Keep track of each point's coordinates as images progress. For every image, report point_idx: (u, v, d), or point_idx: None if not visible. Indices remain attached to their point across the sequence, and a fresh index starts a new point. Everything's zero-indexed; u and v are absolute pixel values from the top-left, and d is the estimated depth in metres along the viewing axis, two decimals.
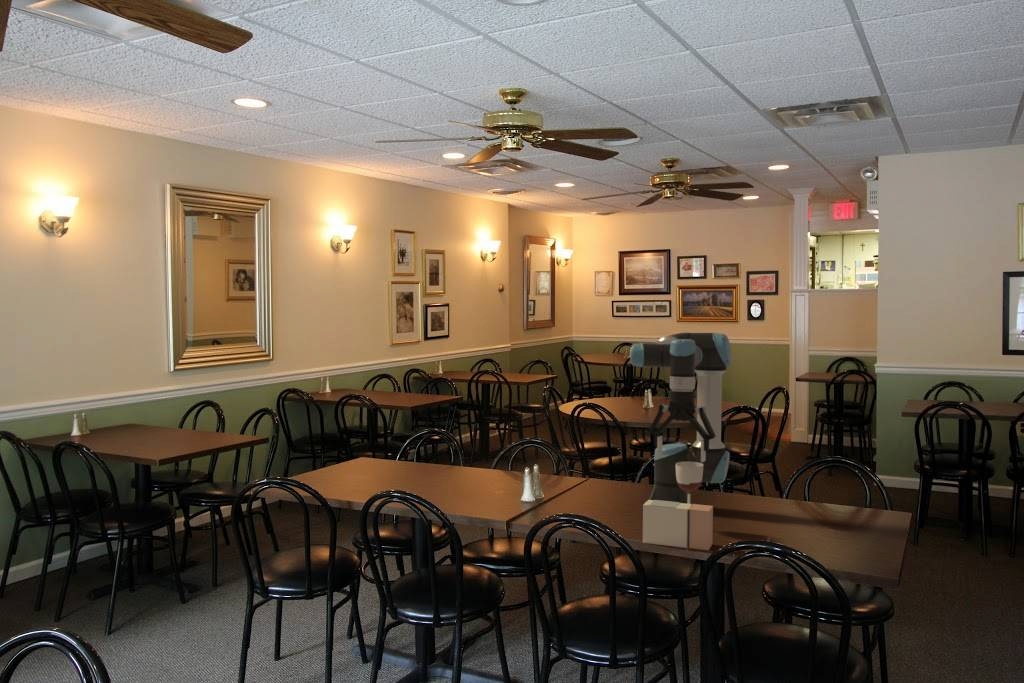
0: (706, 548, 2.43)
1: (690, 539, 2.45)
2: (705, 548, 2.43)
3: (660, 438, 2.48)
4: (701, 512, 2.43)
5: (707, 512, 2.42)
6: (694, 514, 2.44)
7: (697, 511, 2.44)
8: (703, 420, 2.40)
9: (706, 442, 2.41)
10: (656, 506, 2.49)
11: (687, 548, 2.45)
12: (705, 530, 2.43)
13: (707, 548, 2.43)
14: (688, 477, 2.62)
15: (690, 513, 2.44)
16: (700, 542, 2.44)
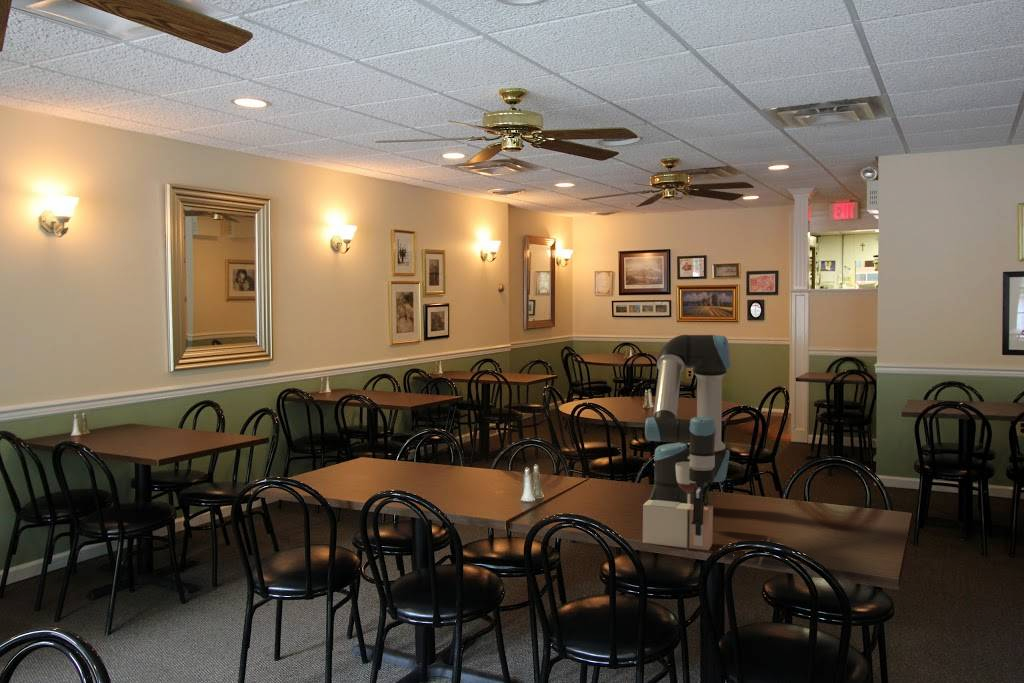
0: (706, 548, 2.43)
1: (690, 539, 2.45)
2: (705, 548, 2.43)
3: None
4: None
5: (707, 512, 2.42)
6: None
7: None
8: None
9: None
10: (656, 506, 2.49)
11: (687, 548, 2.45)
12: (705, 530, 2.43)
13: (707, 548, 2.43)
14: (688, 477, 2.62)
15: (690, 513, 2.44)
16: None
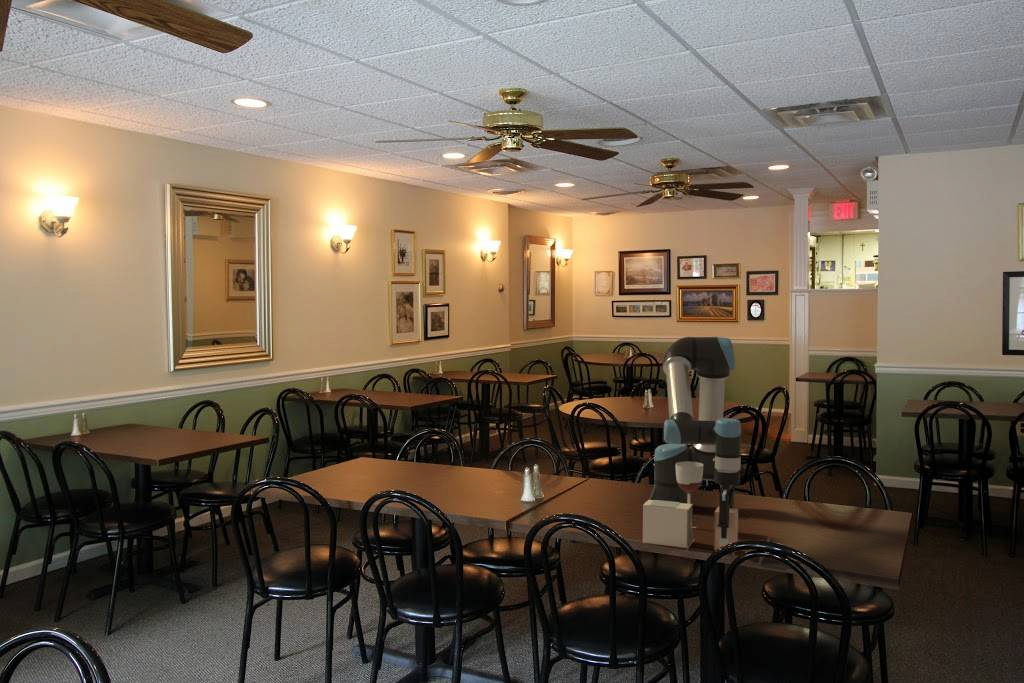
0: None
1: (715, 542, 2.42)
2: None
3: None
4: None
5: (733, 515, 2.40)
6: None
7: None
8: None
9: None
10: (656, 506, 2.49)
11: (687, 548, 2.45)
12: (731, 533, 2.40)
13: None
14: (688, 477, 2.62)
15: (715, 516, 2.42)
16: None
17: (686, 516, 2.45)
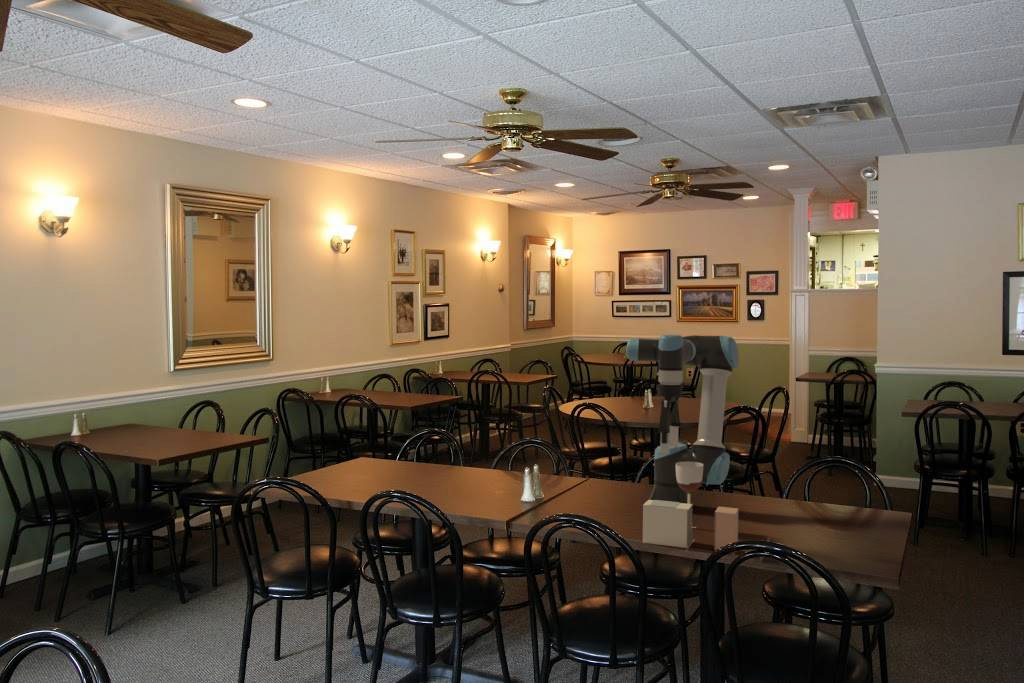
0: None
1: (715, 542, 2.42)
2: None
3: (672, 428, 2.62)
4: (727, 515, 2.40)
5: (733, 515, 2.39)
6: (720, 517, 2.41)
7: (723, 513, 2.41)
8: None
9: None
10: (656, 506, 2.49)
11: (687, 548, 2.45)
12: (731, 533, 2.40)
13: None
14: (688, 477, 2.62)
15: (716, 516, 2.41)
16: None
17: (686, 516, 2.45)
